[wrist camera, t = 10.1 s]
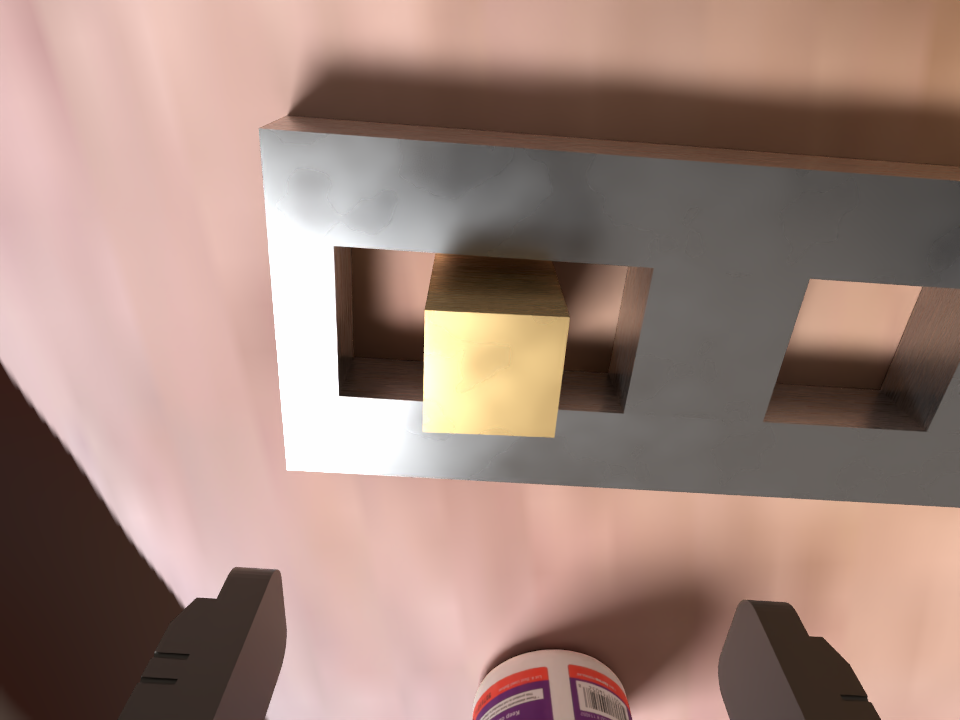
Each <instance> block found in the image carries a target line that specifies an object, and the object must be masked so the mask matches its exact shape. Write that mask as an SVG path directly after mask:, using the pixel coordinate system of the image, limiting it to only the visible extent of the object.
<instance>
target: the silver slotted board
mask: <svg viewBox="0 0 960 720" xmlns="http://www.w3.org/2000/svg"><path fill="white" fill-rule="evenodd" d="M259 137H260V149H261V162H262V174H263V186H264V198H265V210H266V222H267V234H268V247H269V259H270V271H271V283H272V295H273V307H274V320H275V332H276V344H277V356H278V368H279V380H280V392H281V405H282V417H283V429H284V441H285V453H286V465H287V470H297V471H314V472H332V473H350V474H368V475H386V476H404V477H422V478H440V479H457V480H475V481H493V482H511V483H529V484H547V485H565V486H583V487H600V488H618V489H636V490H654V491H672V492H690V493H708V494H726V495H743V496H761V497H779V498H797V499H815V500H833V501H851V502H869V503H886V504H904V505H922V506H940V507H958V508H960V167H956V166H943V165H930V164H917V163H904V162H891V161H877V160H864V159H851V158H838V157H825V156H812V155H798V154H785V153H772V152H759V151H746V150H733V149H719V148H706V147H693V146H680V145H667V144H654V143H640V142H627V141H614V140H601V139H588V138H575V137H561V136H548V135H535V134H522V133H509V132H496V131H482V130H469V129H456V128H443V127H430V126H417V125H403V124H390V123H377V122H364V121H351V120H338V119H324V118H311V117H298V116H285V117H283V118H281V119H278V120H276V121H274V122H272V123H270V124H267V125H265V126H263V127H261V128H259ZM351 247H356V248H371V249H386V250H400V251H415V252H429V253H444V254H458V255H473V256H487V257H502V258H516V259H531V260H546V261H560V262H575V263H589V264H604V265H618V266H628V270H627V276H626V281H625V286H624V292H623V297H622V302H621V308H620V313H619V318H618V324H617V329H616V334H615V340H614V345H613V350H612V356H611V361H610V366H609V372H608V373H600V372H584V371H568V370H563V375H562V383H561V390H560V398H559V406H558V413H557V421H556V429H555V436H554V438H550V437H527V436H504V435H481V434H459V433H436V432H423V393H424V361H408V360H392V359H376V358H360V357H354V353H353V305H352V257H351ZM810 279H822V280H836V281H851V282H865V283H880V284H894V285H909V286H923V288H922V290H921V293H920V295H919V298H918V300H917V302H916V305H915V307H914V310H913V312H912V314H911V317H910V319H909V322H908V324H907V326H906V329H905V331H904V334H903V336H902V338H901V341H900V343H899V346H898V348H897V350H896V353H895V355H894V358H893V360H892V362H891V365H890V367H889V370H888V372H887V374H886V377H885V379H884V382H883V384H882V387H881V389H880V390H872V389H856V388H840V387H824V386H808V385H792V384H776V380H777V377H778V374H779V371H780V368H781V365H782V362H783V359H784V356H785V353H786V350H787V347H788V344H789V341H790V338H791V334H792V331H793V328H794V325H795V322H796V319H797V316H798V313H799V310H800V307H801V304H802V301H803V298H804V295H805V292H806V289H807V286H808V283H809V280H810Z"/></svg>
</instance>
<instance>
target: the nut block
mask: <svg viewBox="0 0 960 720" xmlns="http://www.w3.org/2000/svg"><path fill="white" fill-rule="evenodd" d="M569 321H570V316H569V313H568V310H567V306H566V303H565V300H564V297H563V294H562V291H561V287H560V284H559V281H558V278H557V275H556V272H555V268H554V265H553V262H552V261H546V260H531V259H516V258H502V257H487V256H473V255H458V254H444V253H436V254H435V259H434V264H433V269H432V275H431V280H430V285H429V291H428V296H427V301H426V306H425V328H424V393H423V432H436V433H459V434H481V435H504V436H527V437H550V438H554V436H555V429H556V421H557V413H558V406H559V398H560V390H561V383H562V375H563V367H564V359H565V352H566V344H567V336H568V329H569Z"/></svg>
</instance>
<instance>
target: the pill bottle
mask: <svg viewBox="0 0 960 720" xmlns="http://www.w3.org/2000/svg"><path fill="white" fill-rule="evenodd" d="M473 720H632V717H631V712H630V708H629V704H628V700H627V696H626V693H625V690H624V688H623V686H622V684H621V682H620V680H619V679H618V677H617V676H616V675H615V674H614V673H613V672H612V671H611V670H610V669H609V668H608V667H607V666H606V665H604V664H603V663H601V662H600V661H598V660H597V659H595V658H593V657H591V656H588V655H585V654H582V653H578V652H574V651H568V650H539V651H533V652H528V653H524V654H521V655H518V656H516V657H513V658H511V659H509V660H507V661H505V662H503V663H501V664H500V665H498V666H497V667H496V668H494V669H493V670H492V671H490V672H489V674H488V675H487V676H486V677H485V678H484V680H483V681H482V683H481V684H480V686H479V688H478V690H477V692H476V695H475V698H474V703H473Z"/></svg>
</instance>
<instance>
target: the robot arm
mask: <svg viewBox="0 0 960 720" xmlns="http://www.w3.org/2000/svg"><path fill="white" fill-rule="evenodd" d="M286 638H287V628H286V618H285V608H284V598H283V588H282V579H281V573H280V571H279V570H276V569H259V568H243V567H235V568H233V569H232V570H231V572H230V573H229V575H228V577H227V579H226V581H225V583H224V585H223V587H222V589H221V591H220V593H219V595H218V597H217V599H211V598H196V599H195V600H194V601H193V602H192V603H191V604H190V605H189V606H187V607H186V608H185V609H184V610H183V611H182V612H181V613H180V614H179V615H178V616H177V617H176V618H175V619H174V620H173V621H172V622H171V623H170V625H169V626H168V628H167V630H166V632H165V634H164V636H163V637H162V639H161V641H160V643H159V645H158V646H157V648H156V650H155V654H154V657H153V658H151V659H150V661H149V663H148V665H147V667H146V668H145V671H144V673H143V674H142V676H141V681H140V683H137V685H136V687H135V689H134V691H133V692H132V694H131V696H130V698H129V700H128V702H127V703H126V705H125V707H124V709H123V711H122V713H121V714H120V716H119V718H118V720H264V719H265V716H266V712H267V709H268V706H269V703H270V700H271V697H272V694H273V691H274V688H275V685H276V682H277V679H278V676H279V673H280V670H281V667H282V663H283V659H284V654H285V648H286ZM718 677H719V685H720V690H721V694H722V698H723V701H724V704H725V706H726V709H727V712H728V715H729V718H730V720H881V719H880V717H879V715H878V713H877V712H876V710H875V708H874V706H873V705H872V703H871V702H868V699H867V697H868V696H867V694H866V692H865V691H864V689H863V687H862V685H861V683H860V682H859V680H858V678H857V676H856V675H855V673H854V671H853V669H852V668H851V666H850V664H849V663H848V662H847V661H846V660H845V659H844V658H843V657H842V656H841V655H840V654H839V653H838V652H837V651H836V650H835V649H834V648H833V647H832V646H831V645H830V644H829V643H828V642H827V641H826V640H825V639H824V638H823V637H811V636H809V635H808V633H807V631H806V629H805V628H804V626H803V624H802V622H801V620H800V618H799V616H798V614H797V613H796V611H795V609H794V608H793V607H792V606H791V605H790V604H789V603H786V602H771V601H755V600H742V601H741V602H740V603H739V605H738V607H737V609H736V612H735V615H734V618H733V621H732V624H731V626H730V629H729V632H728V635H727V638H726V641H725V643H724V646H723V649H722V652H721V655H720V658H719V665H718Z"/></svg>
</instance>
